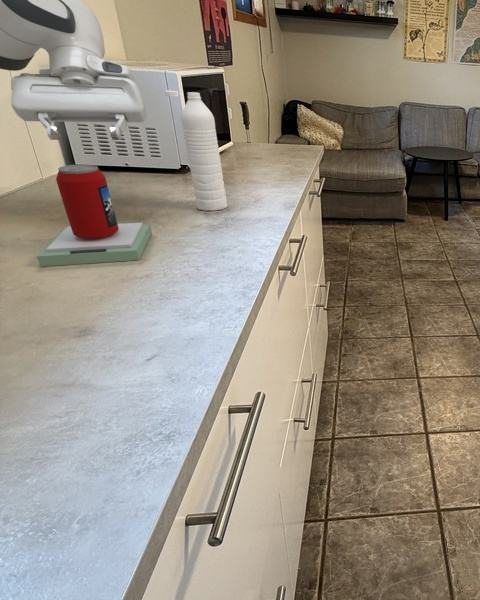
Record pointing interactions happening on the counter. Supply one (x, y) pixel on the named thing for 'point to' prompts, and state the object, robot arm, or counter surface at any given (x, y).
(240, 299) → the counter surface
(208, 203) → the water bottle
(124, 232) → the kitchen scale
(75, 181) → the beverage can
